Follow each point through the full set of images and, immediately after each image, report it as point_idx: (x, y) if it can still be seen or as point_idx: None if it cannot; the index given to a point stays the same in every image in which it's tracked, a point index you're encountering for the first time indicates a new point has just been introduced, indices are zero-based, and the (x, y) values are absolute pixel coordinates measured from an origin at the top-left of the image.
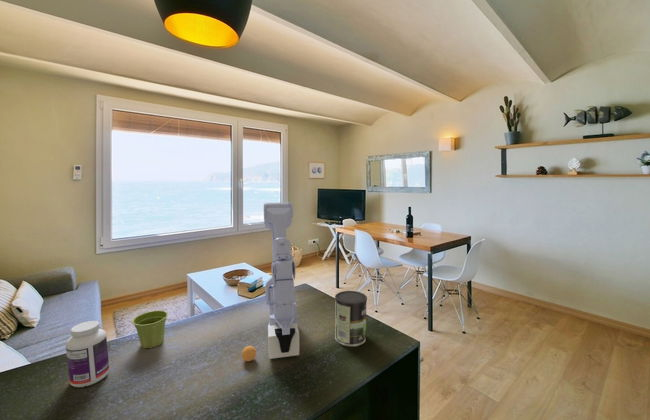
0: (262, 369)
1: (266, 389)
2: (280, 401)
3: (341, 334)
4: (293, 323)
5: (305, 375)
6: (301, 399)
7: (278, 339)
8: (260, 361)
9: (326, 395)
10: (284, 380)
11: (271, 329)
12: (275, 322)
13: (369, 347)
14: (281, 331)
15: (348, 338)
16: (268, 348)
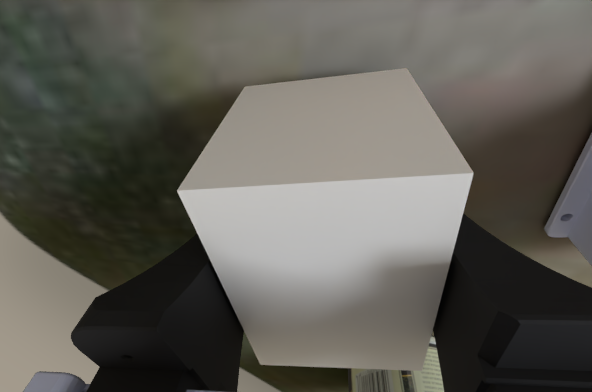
0: (196, 33)
1: (44, 78)
2: (9, 145)
3: (372, 381)
4: (420, 358)
5: (185, 233)
6: (57, 212)
7: (155, 265)
8: (282, 4)
9: (106, 271)
10: (135, 160)
11: (353, 216)
12: (470, 281)
13: (335, 376)
14: (117, 365)
15: (353, 380)
16: (308, 94)
